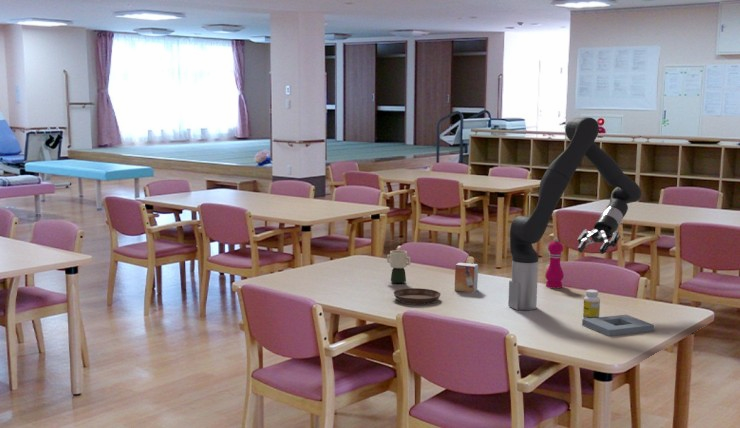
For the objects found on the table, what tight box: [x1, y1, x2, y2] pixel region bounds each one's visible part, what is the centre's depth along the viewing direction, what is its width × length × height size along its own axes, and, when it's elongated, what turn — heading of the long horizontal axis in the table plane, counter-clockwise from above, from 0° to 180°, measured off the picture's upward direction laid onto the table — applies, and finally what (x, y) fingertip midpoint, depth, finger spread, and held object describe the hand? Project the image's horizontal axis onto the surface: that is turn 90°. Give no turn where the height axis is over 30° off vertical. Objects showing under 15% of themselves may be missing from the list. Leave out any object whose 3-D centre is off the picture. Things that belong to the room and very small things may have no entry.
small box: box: [454, 262, 479, 293], centre depth 323 cm, size 8×6×10 cm
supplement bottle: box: [582, 289, 601, 319], centre depth 283 cm, size 5×5×10 cm
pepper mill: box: [544, 237, 564, 289], centre depth 330 cm, size 7×7×20 cm
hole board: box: [581, 314, 655, 337], centre depth 272 cm, size 18×14×2 cm
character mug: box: [386, 249, 412, 284], centre depth 335 cm, size 11×7×13 cm, turn 59°
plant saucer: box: [393, 287, 442, 306], centre depth 307 cm, size 18×18×3 cm
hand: (590, 251), depth 291 cm, fingers open, 8 cm apart
